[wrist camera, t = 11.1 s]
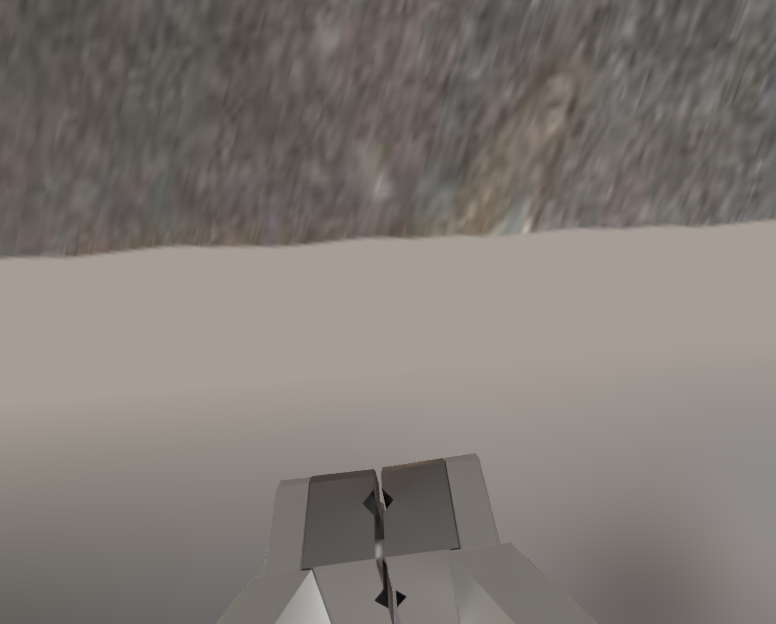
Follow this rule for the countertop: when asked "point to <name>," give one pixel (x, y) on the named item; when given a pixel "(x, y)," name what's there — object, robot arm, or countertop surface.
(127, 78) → the countertop surface
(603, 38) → the countertop surface
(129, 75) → the countertop surface
